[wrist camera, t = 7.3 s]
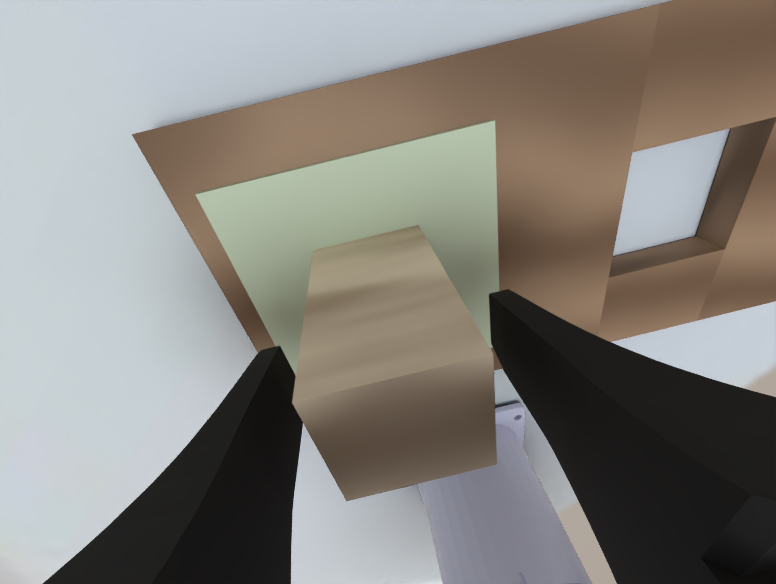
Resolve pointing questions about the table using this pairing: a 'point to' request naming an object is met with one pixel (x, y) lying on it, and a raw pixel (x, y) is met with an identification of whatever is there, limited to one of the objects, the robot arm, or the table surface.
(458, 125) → the walnut pocket board
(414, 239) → the maple block
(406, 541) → the table surface
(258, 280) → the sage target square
